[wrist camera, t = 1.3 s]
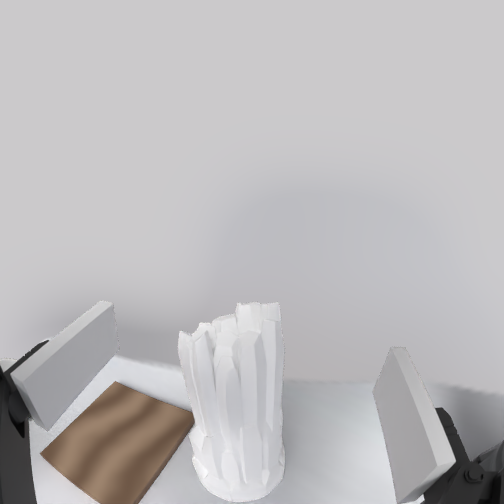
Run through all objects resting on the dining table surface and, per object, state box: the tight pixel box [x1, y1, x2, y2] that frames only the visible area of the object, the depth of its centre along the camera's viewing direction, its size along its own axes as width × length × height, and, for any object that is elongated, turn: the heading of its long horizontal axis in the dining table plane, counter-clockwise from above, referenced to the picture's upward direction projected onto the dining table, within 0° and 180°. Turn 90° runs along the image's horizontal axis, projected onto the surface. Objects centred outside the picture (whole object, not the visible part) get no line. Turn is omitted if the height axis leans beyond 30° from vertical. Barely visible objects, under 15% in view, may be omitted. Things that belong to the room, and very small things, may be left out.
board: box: [40, 381, 195, 504], centre depth 30 cm, size 16×20×1 cm
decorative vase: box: [178, 302, 285, 502], centre depth 24 cm, size 11×11×25 cm
